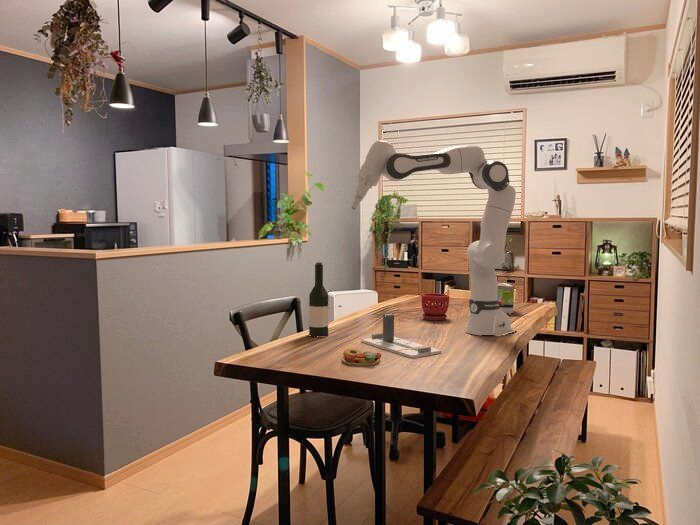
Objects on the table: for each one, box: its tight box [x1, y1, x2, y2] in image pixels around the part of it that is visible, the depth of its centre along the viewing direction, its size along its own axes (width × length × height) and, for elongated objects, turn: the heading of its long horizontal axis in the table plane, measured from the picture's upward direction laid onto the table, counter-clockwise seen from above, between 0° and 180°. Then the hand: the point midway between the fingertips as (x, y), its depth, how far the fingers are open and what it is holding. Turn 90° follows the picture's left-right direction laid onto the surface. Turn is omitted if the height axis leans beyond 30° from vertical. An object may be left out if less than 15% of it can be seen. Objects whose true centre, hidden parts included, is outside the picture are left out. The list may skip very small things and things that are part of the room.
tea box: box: [497, 282, 515, 314], centre depth 290 cm, size 15×10×15 cm
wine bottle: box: [308, 261, 329, 338], centre depth 228 cm, size 8×8×30 cm
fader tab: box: [382, 313, 395, 342], centre depth 215 cm, size 3×3×10 cm
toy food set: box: [341, 348, 382, 367], centre depth 189 cm, size 13×13×3 cm
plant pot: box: [421, 292, 450, 321], centre depth 269 cm, size 13×13×12 cm
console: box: [360, 332, 442, 359], centre depth 210 cm, size 14×30×3 cm, turn 34°
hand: (353, 208), depth 228 cm, fingers open, 8 cm apart
